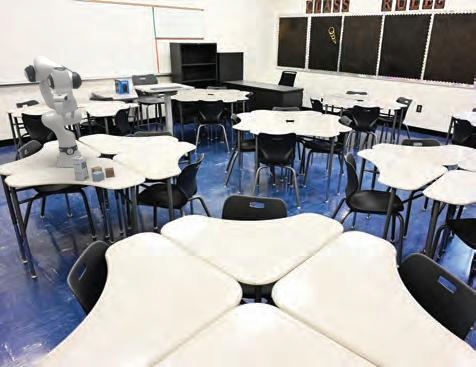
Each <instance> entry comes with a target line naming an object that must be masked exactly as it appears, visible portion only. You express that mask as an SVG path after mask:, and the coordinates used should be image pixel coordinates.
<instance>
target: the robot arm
mask: <svg viewBox="0 0 476 367" xmlns="http://www.w3.org/2000/svg"><path fill="white" fill-rule="evenodd" d="M23 71H24V72H23V73H24V77H25V78H26V79H27V81H28V82H29V83H39V84H38V88H39V90H40V94H41V96H42V99H43V100H44V102H45V104H46V107H48V108H49V109H51V110H49V111H45V112H44V113H42V114H41V122H42V124H43V125H44V127H47V128H48V129H49V130H51V131H53V132H54V134H55V136H56V138H57V139H56V140H57V143H58V151H59V153H58V155H56V159H57V163H56V168H73V163H72V158H74V157H77V156H83V155H82V152H81V151H80V150H79V148H78V144H77V141H76V135H75V133H74V132H73V131H70V130H68V129H66V128H65V126H72V125H76V124H79V123H81V122H82V120H83V114H82V112H81V111H80V110H79V107H78V106H79V105H78V102H77V100H76V98H75V96H74V94H73V90H78V89H79V88H81V86H82V85H83V80H82V77H81V75H80V74H79V73H78V72H76V71H73V70H71V69H69V68H68V67H66V66H64V65H61V64H59V63H56V62H55V61H52V60H51V58H49V57H48V56H45V55H42V54H39V55H36V56H35V57H34V58H33V64H28V65H27V66H26V67H24V70H23Z"/></svg>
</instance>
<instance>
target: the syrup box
mask: <svg viewBox="0 0 476 367" xmlns="http://www.w3.org/2000/svg"><path fill="white" fill-rule="evenodd" d="M72 163H73V167H72V169H73V171H74V172H73V173H74V176H75V181H80V182H81V181H82V182H83V181H86V180H87V179H90V174H89V171H88V165H87V159H86V156H85V155H82V156H77V157H74V158H72Z"/></svg>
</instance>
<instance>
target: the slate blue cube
mask: <svg viewBox="0 0 476 367" xmlns="http://www.w3.org/2000/svg"><path fill="white" fill-rule="evenodd" d="M104 173H105V172H104V171H103V172H101V171H96V172H94V173H92V172H91V178H92V182H98V183H99V182H102V181H104V180H105V174H104Z"/></svg>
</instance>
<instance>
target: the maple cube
mask: <svg viewBox="0 0 476 367" xmlns="http://www.w3.org/2000/svg"><path fill="white" fill-rule="evenodd" d="M90 171H91V173H94V172H96V171H101V172H104V171H103V167H102V166H100V165H97V166H96V165H95V166H92V167H90Z"/></svg>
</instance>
